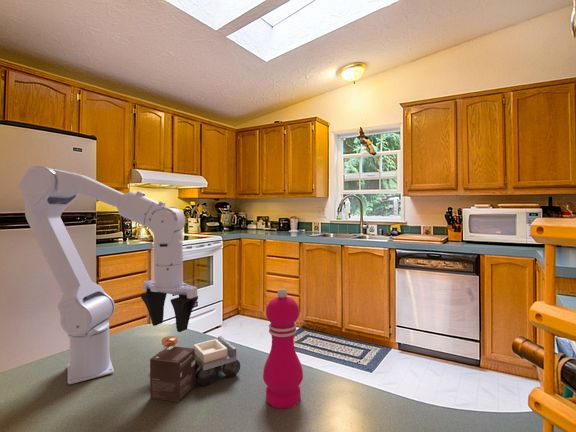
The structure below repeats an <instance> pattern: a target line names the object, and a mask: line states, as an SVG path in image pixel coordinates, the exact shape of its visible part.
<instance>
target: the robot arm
mask: <svg viewBox="0 0 576 432" xmlns="http://www.w3.org/2000/svg"><path fill="white" fill-rule="evenodd" d="M18 187H19V189H20V192H21V194H22V196H23V199H24V215H25V219H26V221H27V223H28V225H29V228H30V230H31V232H32V233H33V235H34V238H35V240H36V241H37V243H38V246H39V248H40V249H41V252H42V254H43V255H44V258H45V259H46V262H47V264H48V266H49V268H50V270H51V272H52V274H53V277H54V279H55V280H56V282H57V285H58V286H59V288H60V291H61V292H62V295H61V297H60V299H59V301H58V302H57V303H58V304H57V308H58V311H59V315H60V317H59V318H60V326H61V328H62V329H63V331H64V332H65V333H66V334H67V337H68V338H69V340H68V341H69V343H68V344H69V363H68V364H67V384H68V385H73V384H77V383H79V382H80V383H81V382H85V381H88V380H91V379H96V378H100V377H103V376H107V375H110V374H111V375H112V374H113V373H115V371H114V367H113V363H112V360H111V356H110V355H111V354H110V319H111V318H112V317H113V315H114V313H115V310H116V303H115V301H114V299H113V298H112V297H111V296H110V295H109V294H107V293H106V292H105V290H104V288H103V286H102V285H99V284H98V283H96V282H94V281H92V279H91V277H90V275H89V272H88V271H87V268H86V266H85V265H84V262H83V260H82V259H81V257H80V254H79V252H78V251H77V250H78V249H76V246H75V244H74V242H73V240H72V238H71V236H70V234H69V232H68V230H67V228H66V225H65V223H64V222H63V220H62V218H61V217H62V214H63V213H64V210H65V209H66V208H68V206H69V205H71V203H72V202H74V200H75V199H76V198H77V197H78V196H86V197H89V198H91V199H95V200H96V201H99V202H101V203H104V204H107V205H110V206H112V207H115V208H116V209H117V212H118V214H119V216H120V217H122V218H125V219H127V220H130V221H132V222H135V223H137V224H140V225H142V226H144V227H146V228H149V230H150V231H151V232H152V234H153V261H154V262H153V267H154V268H153V272H154V273H153V275H154V279H153V280H151V279H150V280H144V281H143V282H142V291H143V292H145V293H142V294H140V298H141V300H142V302H143V303H144V305H145V307H146V309H147V311H148V314H149V317H150V320H151V324H152V326H154V327H156V326H159V325H161V324H163V322H164V312H165V311H164V309H165V303H166V298H167V294H168V295H169V294H170V295H173V296H174V295H175V296H177V297H175V298H171V299H170V303H171V306H172V309H173V311H174V316H175V327H176V331H177V332H178V333H181V332H184V331H186V330H188V326H189V321H190V318H191V315H192V311H193V309H194V307H195V305H196V303H197V301H198V300H199V296H198V287H197V286H193V285H190V284H188V283H185V282H184V267H183V265H184V258H183V257H184V255H183V254H184V253H183V252H184V249H183V248H184V247H183V246H184V245H183V228H184V227H185V226H186V220H187V219H186V216H185V214H184V213H183V212H182V210H180V209H178V207H177V206H168V207H166V202H164V201H159V202H158V201H156V200H155V199H152V198H150V197H147V196H146V193H145V192H144V191H141V190H137V191H129V192H126V193H124V192H122V191H119V190H116V189H115V188H113V187H110V186H108V185H106V184H104V183H102V182H100V181H98V180H96V179H93V178H92V177H89V176H87V175H84V174H80V173H76V172H74V171H71V170H62V169H55V168H50V167H47V166H43V165H34V166H31V167H29V168H28V169H27V170H26V171H25V172H24V173H23V176H22V177H21V179H20V181H19V182H18Z"/></svg>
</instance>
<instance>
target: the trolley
mask: <svg viewBox="0 0 576 432" xmlns="http://www.w3.org/2000/svg"><path fill="white" fill-rule="evenodd" d="M217 340H218V341H219V342H220V343H222V344H223V345H224V346H225V347H226V348H227V356H226V357H223V358H219V359H216V360H212V361H209V362H205V363H204V362H203V361H202V360H201V359H200V358H199V357H198V356H197V355H196V354H195V381H197V382H198V384H199V385H201V386H202V387H207V386H209V385H211V384H212V383H213V382H214V381H215V379H216V376H217V372H216V369H215V368H216V367H219V366H220V369H221V372H222V373H223V374H224V375H225V376H226V377H228V378H234V377H235V376H237V374H239V372H240V369H241V362H240V361H239V360H238V359H237V348H236V347H235V346H234V345H233V344H231V343H230V342H229V341H228V340H227V339H225V338H224V337H223V336H222V335H219V336H217Z"/></svg>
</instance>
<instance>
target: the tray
mask: <svg viewBox="0 0 576 432" xmlns="http://www.w3.org/2000/svg"><path fill="white" fill-rule="evenodd" d="M193 348H194V349H195V354H196V355H197V356H198V357H199V358H200V359H201V360H202V361H203V362H204V363H205V362H209V361H212V360H216V359H219V358H223V357H226V356H227V348H226V347H225V346H224V345H223V344H222V343H220V342H219V341H218V338H214V339H211V340H210V339H209V340H205V341H203V342H198V343H195V344H193Z"/></svg>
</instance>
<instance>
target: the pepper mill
mask: <svg viewBox="0 0 576 432" xmlns="http://www.w3.org/2000/svg"><path fill="white" fill-rule="evenodd" d="M265 316H266V319H267V320H268V321H269V324H268V328H269V329H268V333H269V334H270V335H271V347H270V351H269V353H268V356H267V359H266V361H265V364H264V367H263V371H262V372H263V373H262V378H263V382H264V383H265V385H266V388H265V399H266V402H267V404H268V405H270V406H271V407H273V408H276V409H289V408H293V407H294V406H297V405H298V404H299V402H300V400H301V387H300V385H301V383H302V381H303V378H304V373H303V372H304V371H303V366H302V362H301V361H300V359H299V357H298V355H297V352H296V349H295V340H294V339H295V335H296V333H297V330H298V329H297V323H296V321H297V320H298V318H299V317H300V308H299V304H298V303H297V301H296V300H295V299H294V298H291V297H289V296H288V291H287V289H286V288H279V289H278V291H277V296H276V297H274V298H271V300H269V302H268V304H266V309H265Z"/></svg>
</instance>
